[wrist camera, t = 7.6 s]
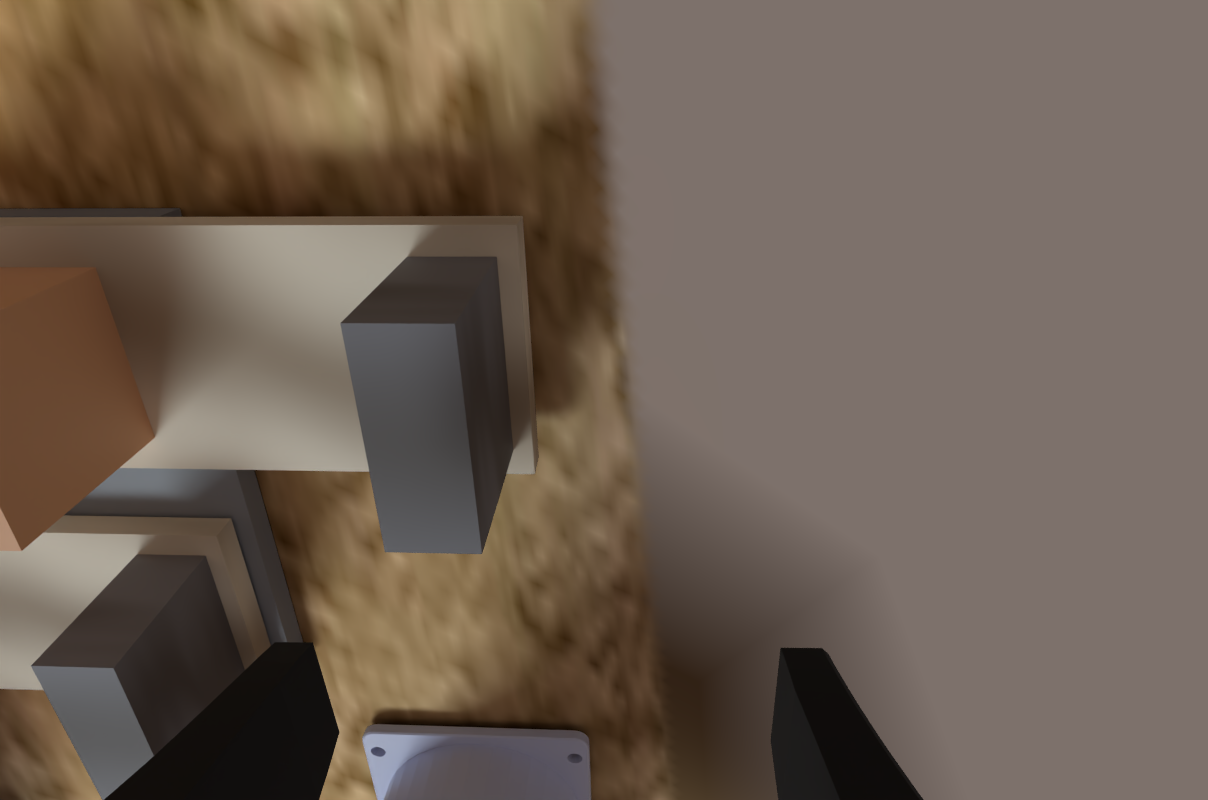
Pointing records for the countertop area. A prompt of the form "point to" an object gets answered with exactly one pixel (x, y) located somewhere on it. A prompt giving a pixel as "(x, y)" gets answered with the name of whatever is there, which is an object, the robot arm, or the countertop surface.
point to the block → (60, 397)
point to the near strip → (323, 350)
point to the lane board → (194, 489)
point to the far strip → (93, 568)
